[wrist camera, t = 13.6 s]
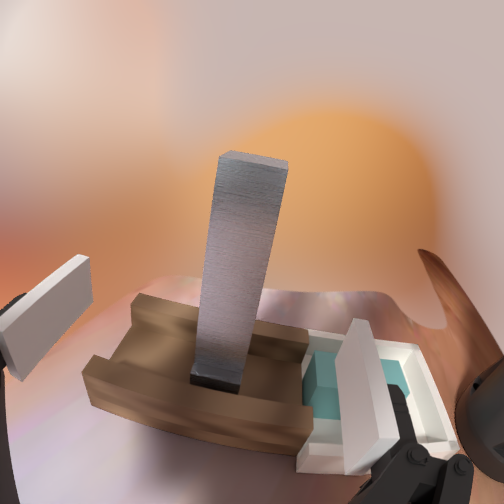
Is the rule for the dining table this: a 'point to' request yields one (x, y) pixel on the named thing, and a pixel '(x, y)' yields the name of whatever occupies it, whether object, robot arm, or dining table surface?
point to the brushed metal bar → (235, 265)
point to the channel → (198, 398)
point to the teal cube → (395, 375)
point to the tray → (418, 401)
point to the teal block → (321, 386)
